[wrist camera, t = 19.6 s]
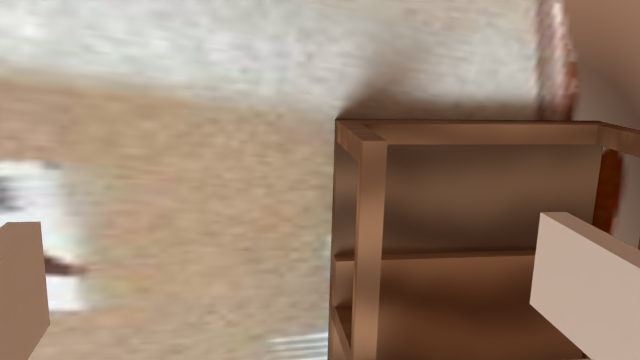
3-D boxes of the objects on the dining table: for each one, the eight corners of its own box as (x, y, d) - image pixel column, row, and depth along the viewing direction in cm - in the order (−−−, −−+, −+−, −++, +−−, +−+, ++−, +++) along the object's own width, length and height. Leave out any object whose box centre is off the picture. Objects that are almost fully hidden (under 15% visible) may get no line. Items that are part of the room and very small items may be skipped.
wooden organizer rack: (335, 119, 44) (362, 141, 34) (597, 120, 47) (687, 141, 37) (324, 460, 51) (345, 555, 41) (552, 441, 54) (619, 526, 44)
